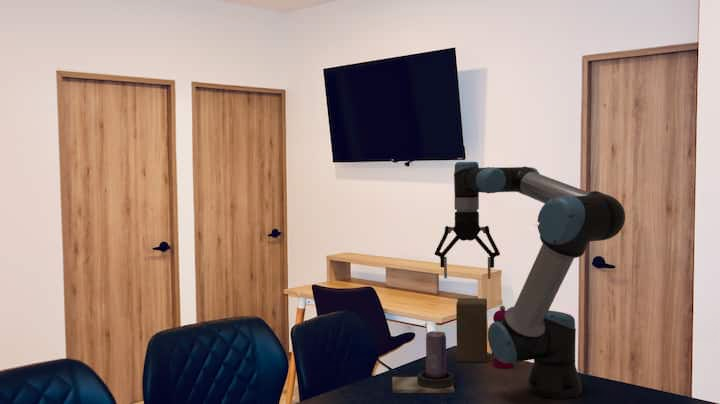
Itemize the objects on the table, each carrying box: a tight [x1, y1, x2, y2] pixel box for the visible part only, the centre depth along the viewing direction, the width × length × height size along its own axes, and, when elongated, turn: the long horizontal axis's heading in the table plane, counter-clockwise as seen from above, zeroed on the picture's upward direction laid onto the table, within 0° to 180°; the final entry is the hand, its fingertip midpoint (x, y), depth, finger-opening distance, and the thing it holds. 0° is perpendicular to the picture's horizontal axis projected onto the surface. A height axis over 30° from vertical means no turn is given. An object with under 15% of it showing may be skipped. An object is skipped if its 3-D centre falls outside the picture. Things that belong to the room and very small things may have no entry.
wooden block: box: [455, 297, 488, 363], centre depth 232 cm, size 10×10×20 cm
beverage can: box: [425, 330, 447, 379], centre depth 203 cm, size 6×6×15 cm
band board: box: [391, 370, 455, 394], centre depth 203 cm, size 18×12×3 cm, turn 88°
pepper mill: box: [491, 305, 513, 369], centre depth 223 cm, size 7×7×20 cm
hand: (467, 278), depth 213 cm, fingers open, 13 cm apart
